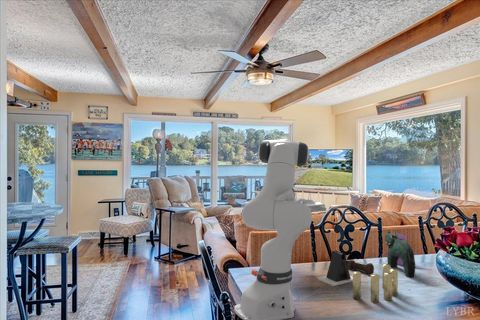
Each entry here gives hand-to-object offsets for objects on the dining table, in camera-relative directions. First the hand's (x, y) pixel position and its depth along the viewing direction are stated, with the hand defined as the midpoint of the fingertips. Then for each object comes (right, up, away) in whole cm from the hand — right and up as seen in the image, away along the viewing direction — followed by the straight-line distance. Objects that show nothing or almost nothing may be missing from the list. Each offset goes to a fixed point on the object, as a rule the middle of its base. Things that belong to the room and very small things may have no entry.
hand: (318, 210), depth 156 cm
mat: (+6, -30, -11) cm, 32 cm away
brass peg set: (+17, -30, -29) cm, 45 cm away
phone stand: (+6, -30, -11) cm, 32 cm away
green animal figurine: (+41, -31, +1) cm, 51 cm away
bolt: (+20, -31, +2) cm, 36 cm away
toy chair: (+47, -31, +14) cm, 58 cm away
